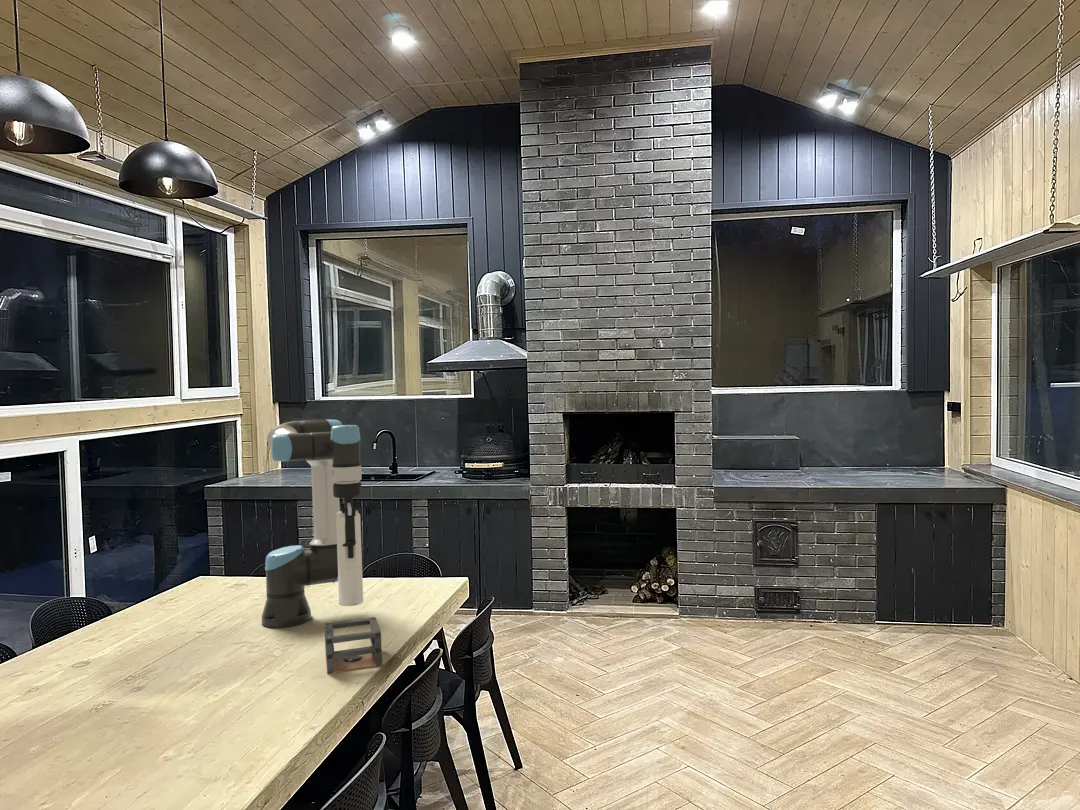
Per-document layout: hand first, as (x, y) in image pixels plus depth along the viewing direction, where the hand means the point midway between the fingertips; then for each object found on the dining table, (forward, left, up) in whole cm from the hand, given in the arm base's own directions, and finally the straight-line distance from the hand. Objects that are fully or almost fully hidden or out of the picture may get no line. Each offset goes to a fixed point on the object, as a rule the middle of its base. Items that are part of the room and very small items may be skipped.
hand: (350, 566), depth 193 cm
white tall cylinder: (0, 0, -10) cm, 10 cm away
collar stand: (0, 0, -26) cm, 26 cm away
